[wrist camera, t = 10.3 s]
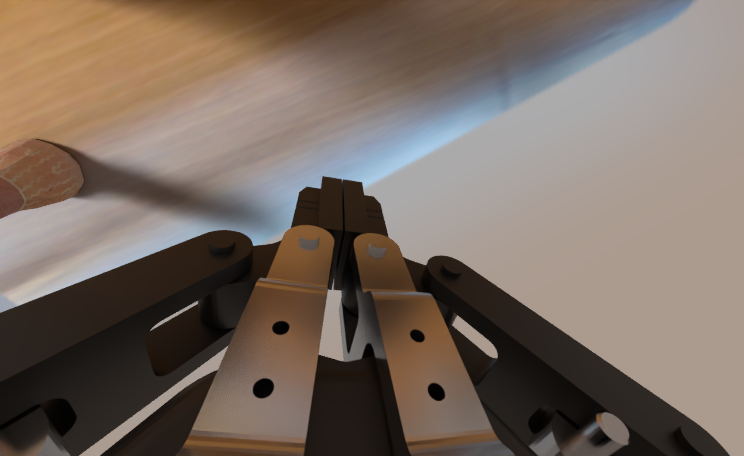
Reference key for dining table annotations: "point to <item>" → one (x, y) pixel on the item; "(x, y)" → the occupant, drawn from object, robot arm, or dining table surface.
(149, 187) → the dining table surface
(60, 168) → the vase
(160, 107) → the dining table surface
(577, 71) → the dining table surface
